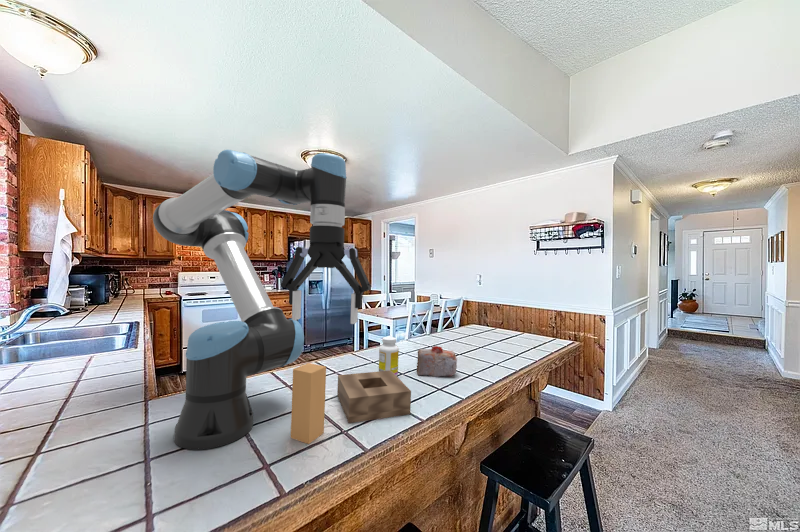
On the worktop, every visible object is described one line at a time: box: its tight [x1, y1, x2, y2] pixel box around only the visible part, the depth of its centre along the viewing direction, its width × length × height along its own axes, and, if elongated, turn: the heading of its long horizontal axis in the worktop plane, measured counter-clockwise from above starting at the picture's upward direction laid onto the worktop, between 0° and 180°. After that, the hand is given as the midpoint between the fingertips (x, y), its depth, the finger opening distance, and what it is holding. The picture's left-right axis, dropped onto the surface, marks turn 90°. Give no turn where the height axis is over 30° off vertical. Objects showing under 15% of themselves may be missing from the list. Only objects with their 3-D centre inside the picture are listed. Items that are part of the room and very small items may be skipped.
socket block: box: [336, 370, 412, 424], centre depth 87 cm, size 16×16×6 cm
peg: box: [290, 362, 327, 445], centre depth 70 cm, size 5×5×15 cm
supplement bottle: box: [378, 336, 400, 377], centre depth 109 cm, size 7×7×13 cm
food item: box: [416, 345, 458, 378], centre depth 112 cm, size 14×8×10 cm, turn 90°
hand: (324, 321), depth 71 cm, fingers open, 13 cm apart
